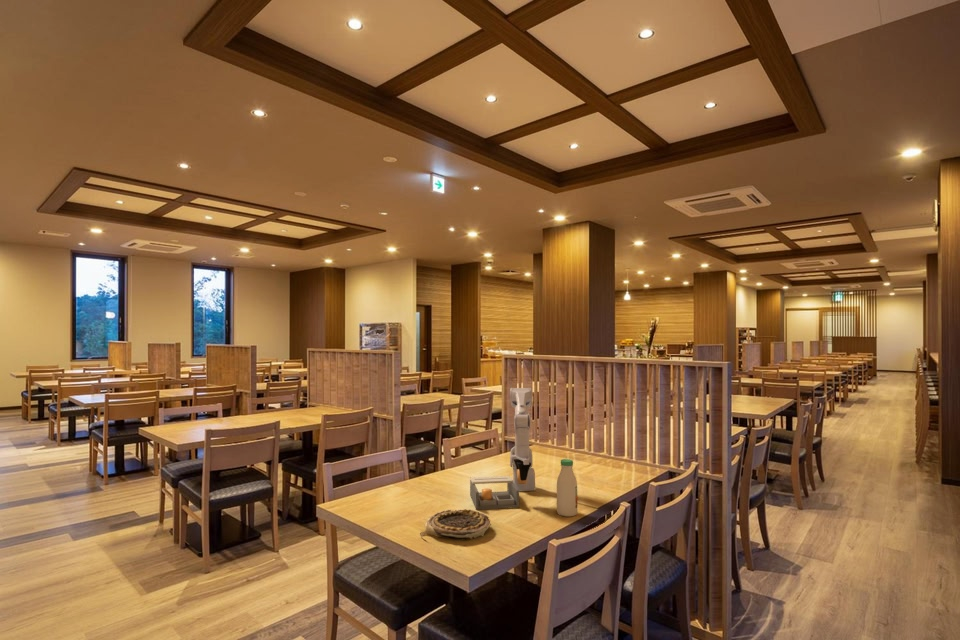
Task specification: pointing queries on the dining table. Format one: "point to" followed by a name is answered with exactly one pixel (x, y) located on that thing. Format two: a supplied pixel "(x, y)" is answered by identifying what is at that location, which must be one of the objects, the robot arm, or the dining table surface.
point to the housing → (495, 497)
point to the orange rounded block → (520, 479)
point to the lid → (491, 479)
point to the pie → (457, 524)
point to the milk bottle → (566, 490)
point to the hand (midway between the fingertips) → (522, 478)
